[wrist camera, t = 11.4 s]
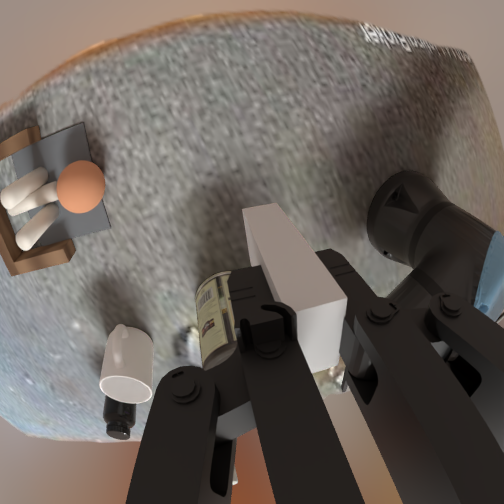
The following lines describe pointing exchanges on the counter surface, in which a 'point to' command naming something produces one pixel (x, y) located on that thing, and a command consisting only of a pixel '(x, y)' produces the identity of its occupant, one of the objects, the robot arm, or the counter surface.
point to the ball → (80, 186)
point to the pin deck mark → (55, 161)
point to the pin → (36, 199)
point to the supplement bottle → (119, 418)
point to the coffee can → (215, 320)
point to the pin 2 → (37, 226)
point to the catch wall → (3, 236)
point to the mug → (128, 365)
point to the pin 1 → (23, 187)
